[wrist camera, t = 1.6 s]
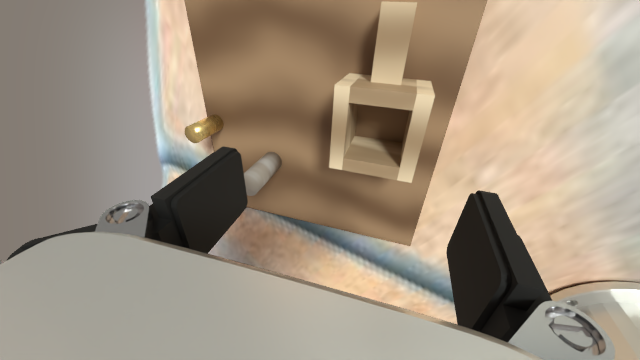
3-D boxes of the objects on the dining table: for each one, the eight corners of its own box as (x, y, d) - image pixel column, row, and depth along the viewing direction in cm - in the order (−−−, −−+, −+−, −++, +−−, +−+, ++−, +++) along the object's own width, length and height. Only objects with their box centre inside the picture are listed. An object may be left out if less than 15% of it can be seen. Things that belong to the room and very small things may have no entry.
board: (410, 238, 28) (409, 286, 23) (229, 196, 33) (196, 228, 28) (490, -22, 16) (525, -41, 11) (190, -25, 21) (119, -39, 16)
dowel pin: (224, 131, 26) (201, 144, 24) (211, 128, 27) (187, 141, 24) (222, 115, 26) (198, 127, 23) (208, 113, 26) (182, 124, 23)
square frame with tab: (411, 155, 22) (411, 182, 18) (342, 144, 23) (329, 167, 20) (450, 5, 16) (460, 1, 13) (355, 2, 18) (340, -2, 14)
